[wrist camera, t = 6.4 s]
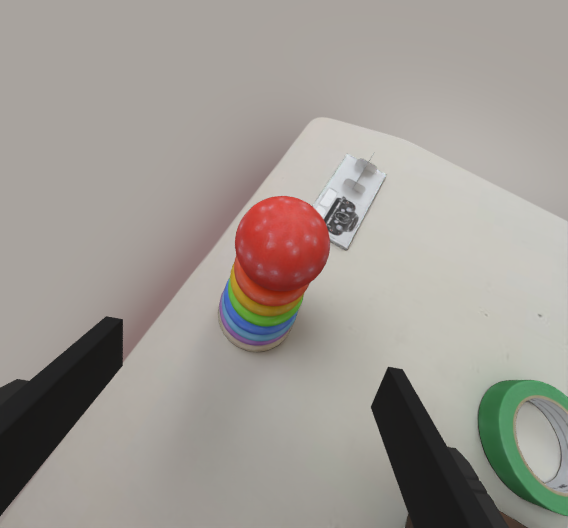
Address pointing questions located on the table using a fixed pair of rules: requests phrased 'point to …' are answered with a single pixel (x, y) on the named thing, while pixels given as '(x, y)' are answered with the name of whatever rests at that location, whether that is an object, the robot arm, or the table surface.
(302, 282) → the stacking toy
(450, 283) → the table surface
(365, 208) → the car cutout
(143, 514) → the table surface
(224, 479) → the table surface
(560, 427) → the tape roll
